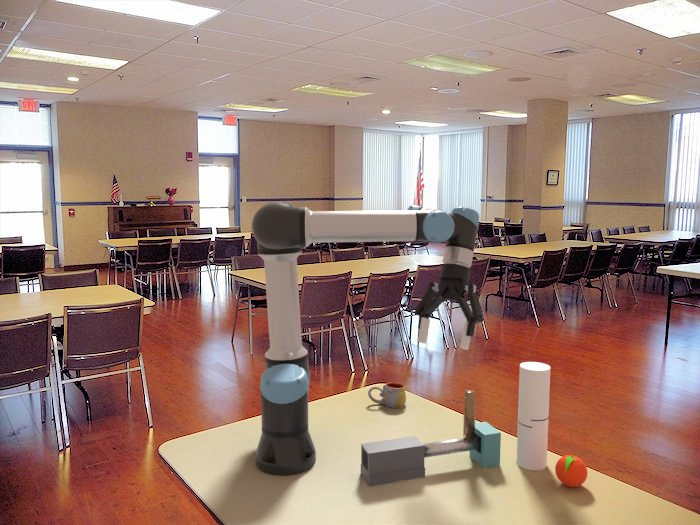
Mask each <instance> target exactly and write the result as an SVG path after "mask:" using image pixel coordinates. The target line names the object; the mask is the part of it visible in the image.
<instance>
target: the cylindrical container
mask: <svg viewBox="0 0 700 525" xmlns="http://www.w3.org/2000/svg"><path fill="white" fill-rule="evenodd" d="M518 379H519V380H518V381H519V382H518V383H519V384H518V386H519V387H518V410H517V434H516V435H517V437H516V438H517V439H516V442H517V443H516V464H517V465H518V466H519V467H521V468H522V469H525V470H528V471H536V472H537V471H542V470H545V469H546V468H547V463H548V462H547V461H548V439H549V436H548V435H549V414H550V394H551V393H550V390H551V388H550V385H551V366H550V365H549V364H547V363H544V362H539V361H538V362H537V361H525V362H524V361H523V362H521V363H520V364H519V377H518Z"/></svg>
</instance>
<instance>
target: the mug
mask: <svg viewBox="0 0 700 525" xmlns="http://www.w3.org/2000/svg"><path fill="white" fill-rule="evenodd" d="M373 390H379V391H380V393H379V397H381V399H377V398H374V397H373V395H372V391H373ZM406 393H407V392H406V385H405V384H404V383H403V384H402V383H398V382H387V383H385V384H383V386H382V388H381V387H380V386H379V387H378V386H372V387H371V388H370V389H369V390H368V392H367V394H368V395H367V396H368V398H369V399H370V400H371V401H372V402H374V403H376V404H378V405H384V406H386V407H388V408H391V409H404V406H405V404H406V402H407V394H406Z"/></svg>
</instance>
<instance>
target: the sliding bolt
mask: <svg viewBox="0 0 700 525" xmlns="http://www.w3.org/2000/svg"><path fill="white" fill-rule="evenodd" d="M476 395H477V392H476V391H475V390H473V389H466V390H464V392H463V424H462V425H463V431H462V432H463V434H462V436H463V437H460V438H453V439H447V440H440V441H434V442H425V443H423V444H424V445H425V451H424V459H425V458H431V457H437V456H445V455H451V454H457V453H463V452H464V453H465V452H470V451H471V450H478V449H481V437H479V436H475V423H476V400H477V399H476V398H477V396H476Z"/></svg>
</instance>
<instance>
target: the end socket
mask: <svg viewBox="0 0 700 525" xmlns="http://www.w3.org/2000/svg"><path fill="white" fill-rule="evenodd" d="M501 433H502V432H500V431H499V430H498V429H497V428H495V427H494V426H493V425H491V424H490V423H488V422H487V421H481V422H475V436H479V437H481V449H478V450H471V451H469V456H470V457H471V458H472V460H474V461H475V462H477V463H478V465H479V466H481V468H483V469H486V468H494V467H498V466H499V467H500V465H501V445H502V444H501V443H502V442H501V440H502V439H501V438H502V437H501V436H502V434H501Z"/></svg>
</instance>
